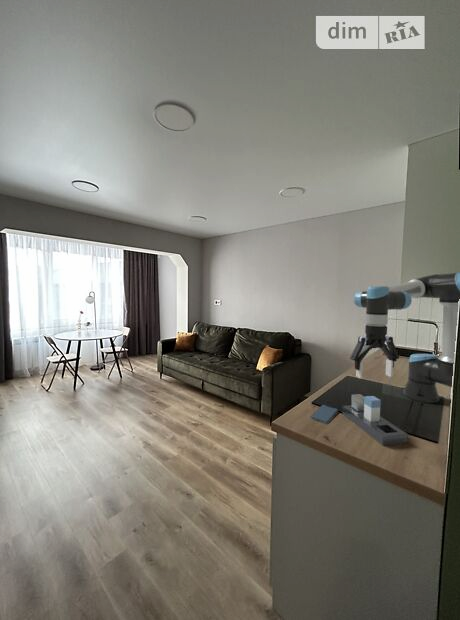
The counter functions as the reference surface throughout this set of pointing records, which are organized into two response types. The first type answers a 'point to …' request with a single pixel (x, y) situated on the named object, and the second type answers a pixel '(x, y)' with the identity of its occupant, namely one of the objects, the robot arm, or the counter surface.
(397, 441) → the slotted peg board
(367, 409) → the plug
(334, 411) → the smartphone
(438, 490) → the counter surface
